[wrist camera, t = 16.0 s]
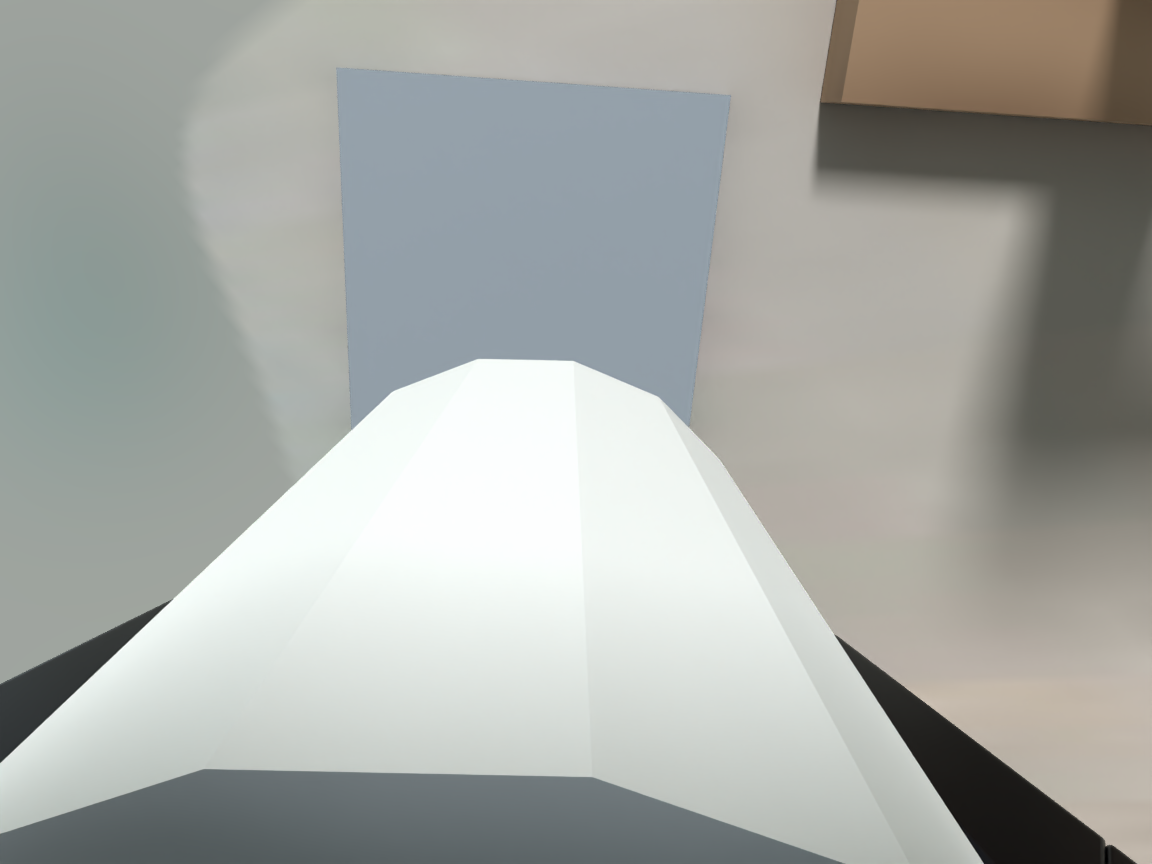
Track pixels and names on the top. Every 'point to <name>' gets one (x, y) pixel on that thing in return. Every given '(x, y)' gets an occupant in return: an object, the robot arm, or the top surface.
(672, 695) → the white tapered cup
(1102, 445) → the top surface
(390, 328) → the slate mat
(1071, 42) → the stand
